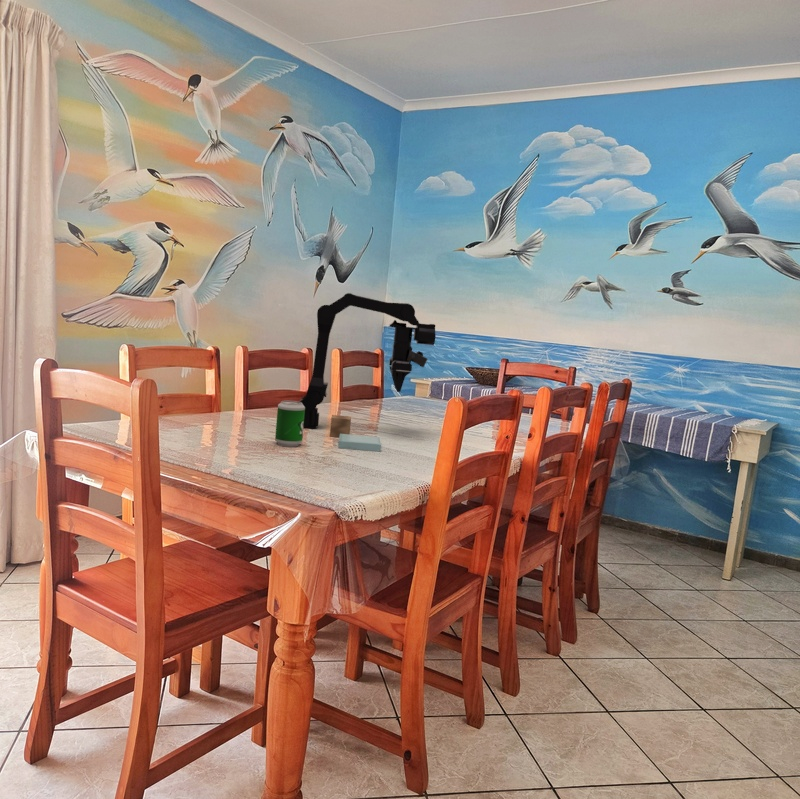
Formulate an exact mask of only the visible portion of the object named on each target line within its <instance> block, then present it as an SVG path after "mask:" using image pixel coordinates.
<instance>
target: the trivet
mask: <svg viewBox="0 0 800 799" xmlns="http://www.w3.org/2000/svg"><path fill="white" fill-rule="evenodd" d="M337 447H338V449H346V450H355V451H356V450H357V451H369V452H377V453H378V452H379V453H380V452H381V448H382V442H381V437H380V436H373V435H361V434H351V433H350V434H340V436H339V438H338V446H337Z"/></svg>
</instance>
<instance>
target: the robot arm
mask: <svg viewBox="0 0 800 799" xmlns="http://www.w3.org/2000/svg"><path fill="white" fill-rule="evenodd" d="M348 307H356V308H360V309H364V310H369V311H373V312H377V313H382V314H385V315H387V316H390V317H393V318H394V320H393V321H392V322H391V323H389V327H390V328H394V335H393V343H392V356H391V358H389V361H388V365H389V370H390V374H391V379H392V382H393V385H394V386H393V387H394V388H395V390H396V392H397V393H400V392H401V390H402V388H403V385H404V381H405V379H406V377H407V376H408V375H409V374H411V372H412V370H413V364H412V363H414V364H417V365H418V366H419V367H421V368H425V365H426V364H427V361H428V358H427V357H425V356H424V353H423V352H421V351H419V350H418V351H417V352H415V351H413V347H412V338H413V341H416V343H415V344H417V345H425V346H426V345H427V346H435V344H436V336H437V335H436V324H434V323H429V324H427V323H420V322H419V319H417V317H416V315H415V314H416V311H415V308H414V306H413V305H412V304H410V303H406V302H405V303H403V302H387V301H382V300H378V299H374V298H370V297H365V296H360V295H356V294H353V293H351V292H347V293H345V294H344V295H343V296H342V297H339V298H338V299H337V300H336V301H334V302H332V303H330V304H324V305H321V306H320V307H319V308H318V309H317V312H316V318H317V321H316V322H317V338H316V345H315V347H316V348H315V354H314V361H313V369H312V376H311V378H310V382H309V384H308V387H307V390H306V394H305V395H304V396H302V397H301V398H300V400H299V401H298V402H301V403H302V404H303V405H304V406H305V415H304V426H303V429H317V428H318V427H319V422H320V412H319V407H317V405H320V404H321V403H323V401H324V399H325V398H327V395H328V393H327V389H328V386H329V382H325V371H326V370H325V369H326V362H327V354H328V349H329V348H328V347H329V341H330V340H329V339H330V334H331V331H332V329H333V326H334V322H335V318H336V316H337V315H338V314H339V313H341V312H343V311H344V310H346V309H347V308H348ZM397 320H400V321H402V322H398V321H397ZM405 322H408V324H410V325H411V326H407V323H405ZM412 326H415V327H412Z"/></svg>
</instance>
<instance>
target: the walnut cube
mask: <svg viewBox="0 0 800 799" xmlns="http://www.w3.org/2000/svg"><path fill="white" fill-rule="evenodd" d="M351 421H352V416H350V415H340V414H339V415H336V414H332V415H331V419H330V429H329V437H330V438H336V439H337V438H338V439H339V436H340V434H351V423H352V422H351Z"/></svg>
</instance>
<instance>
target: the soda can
mask: <svg viewBox="0 0 800 799" xmlns="http://www.w3.org/2000/svg"><path fill="white" fill-rule="evenodd" d="M276 410H277V411H276V412H277V414H276V425H275V435H274V438H275V439H274V440H275V442H276V443H277V445H279V446H281V447H289V448H291V447H292V448H295V447H298V446H300V444H302V443H303V437H304V428H303V426H304V415H305V406H304V405H303V404H302V403H301V402H299V401H296V400H282V401H280V403H278V405H277V409H276Z"/></svg>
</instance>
